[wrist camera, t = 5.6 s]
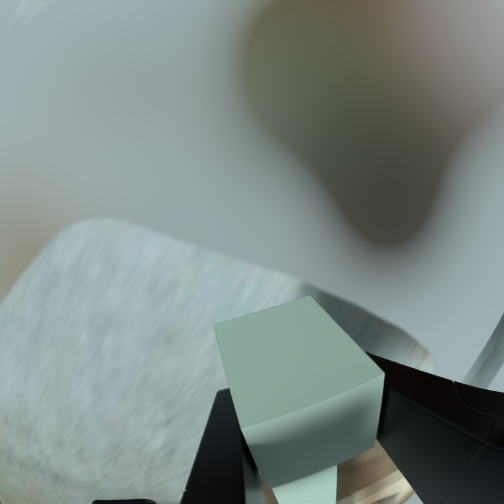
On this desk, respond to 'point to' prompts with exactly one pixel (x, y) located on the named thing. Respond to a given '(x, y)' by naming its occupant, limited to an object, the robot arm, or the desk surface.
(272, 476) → the key
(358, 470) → the box
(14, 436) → the desk surface
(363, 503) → the lid
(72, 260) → the desk surface
